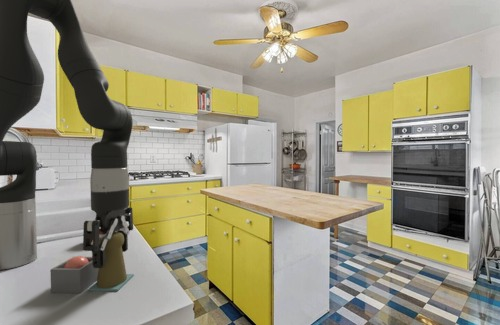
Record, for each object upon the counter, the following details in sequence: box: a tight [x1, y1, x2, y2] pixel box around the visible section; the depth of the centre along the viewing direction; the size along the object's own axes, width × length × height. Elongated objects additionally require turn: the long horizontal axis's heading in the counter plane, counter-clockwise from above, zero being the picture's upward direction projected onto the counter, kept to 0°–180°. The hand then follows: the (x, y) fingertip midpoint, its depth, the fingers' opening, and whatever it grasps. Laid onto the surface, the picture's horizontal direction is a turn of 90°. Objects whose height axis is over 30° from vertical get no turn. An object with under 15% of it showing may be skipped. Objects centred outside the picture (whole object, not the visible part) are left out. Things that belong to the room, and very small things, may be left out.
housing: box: [50, 256, 99, 294], centre depth 53 cm, size 6×6×5 cm
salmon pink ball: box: [64, 255, 89, 268], centre depth 53 cm, size 5×5×5 cm
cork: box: [96, 232, 127, 288], centre depth 54 cm, size 6×6×11 cm
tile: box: [87, 273, 135, 292], centre depth 54 cm, size 6×6×1 cm
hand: (111, 258), depth 54 cm, fingers open, 8 cm apart
